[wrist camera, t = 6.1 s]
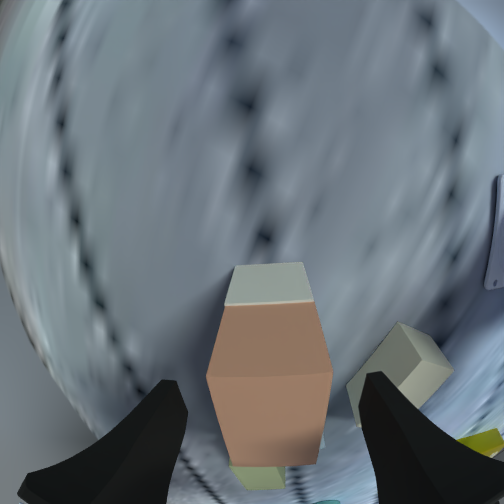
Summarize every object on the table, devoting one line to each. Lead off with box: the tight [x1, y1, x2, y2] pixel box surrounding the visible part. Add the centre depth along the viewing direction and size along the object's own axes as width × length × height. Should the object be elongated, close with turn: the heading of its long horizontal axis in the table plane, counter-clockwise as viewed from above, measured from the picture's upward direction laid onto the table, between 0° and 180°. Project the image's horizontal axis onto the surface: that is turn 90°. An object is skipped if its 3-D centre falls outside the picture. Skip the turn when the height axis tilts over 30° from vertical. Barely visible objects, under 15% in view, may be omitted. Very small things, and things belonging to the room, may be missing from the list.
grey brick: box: [224, 262, 314, 306], centre depth 14 cm, size 6×4×4 cm, turn 4°
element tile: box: [457, 428, 504, 458], centre depth 22 cm, size 15×15×5 cm
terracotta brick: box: [206, 302, 333, 467], centre depth 10 cm, size 6×4×4 cm, turn 4°
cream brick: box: [346, 322, 454, 427], centre depth 15 cm, size 6×4×4 cm, turn 156°
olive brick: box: [229, 459, 285, 490], centre depth 18 cm, size 6×4×4 cm, turn 12°
